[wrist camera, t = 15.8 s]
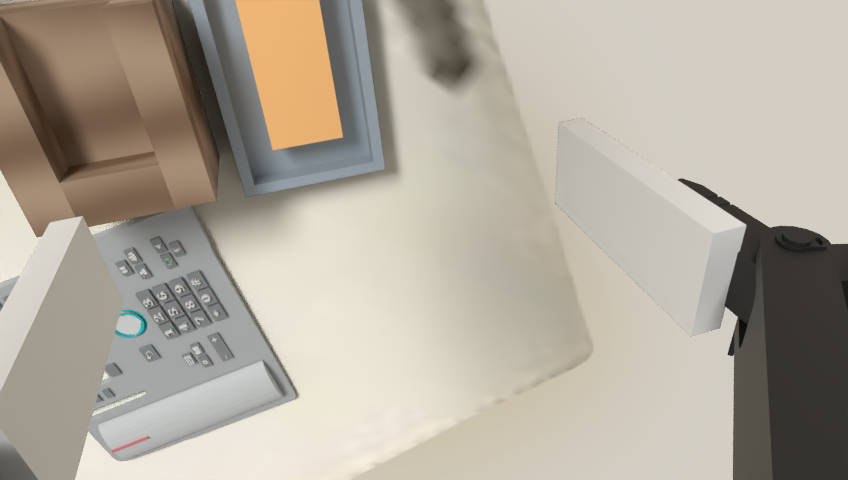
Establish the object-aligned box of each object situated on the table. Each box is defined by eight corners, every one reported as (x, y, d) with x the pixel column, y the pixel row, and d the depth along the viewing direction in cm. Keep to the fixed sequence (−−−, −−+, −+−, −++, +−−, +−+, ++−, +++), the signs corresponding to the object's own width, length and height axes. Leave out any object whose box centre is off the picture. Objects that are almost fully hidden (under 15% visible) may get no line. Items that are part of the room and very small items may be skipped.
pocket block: (-18, 7, 34) (-74, 32, 28) (166, -17, 36) (151, 1, 30) (67, 185, 41) (36, 237, 34) (219, 156, 43) (216, 201, 36)
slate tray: (133, -207, 31) (126, -214, 29) (324, -221, 33) (330, -228, 31) (245, 183, 44) (245, 197, 42) (378, 157, 46) (385, 169, 44)
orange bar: (207, -118, 33) (205, -119, 31) (293, -127, 34) (296, -128, 32) (271, 137, 42) (272, 150, 40) (337, 125, 43) (343, 137, 41)
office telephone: (301, 407, 55) (97, 489, 53) (298, 388, 57) (102, 466, 55) (185, 212, 42) (-91, 312, 40) (187, 196, 44) (-74, 290, 42)
